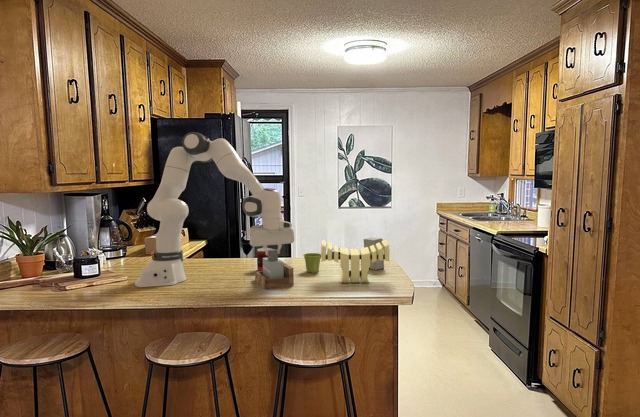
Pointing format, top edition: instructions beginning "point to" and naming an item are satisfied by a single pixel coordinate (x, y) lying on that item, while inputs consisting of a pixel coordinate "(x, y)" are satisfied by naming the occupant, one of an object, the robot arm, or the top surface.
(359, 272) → the slatted curved stool
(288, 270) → the brown wooden frame
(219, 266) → the top surface
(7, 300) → the top surface
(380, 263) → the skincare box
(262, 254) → the canned food
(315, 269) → the plant pot
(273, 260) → the cabinet block
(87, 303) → the top surface
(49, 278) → the top surface
